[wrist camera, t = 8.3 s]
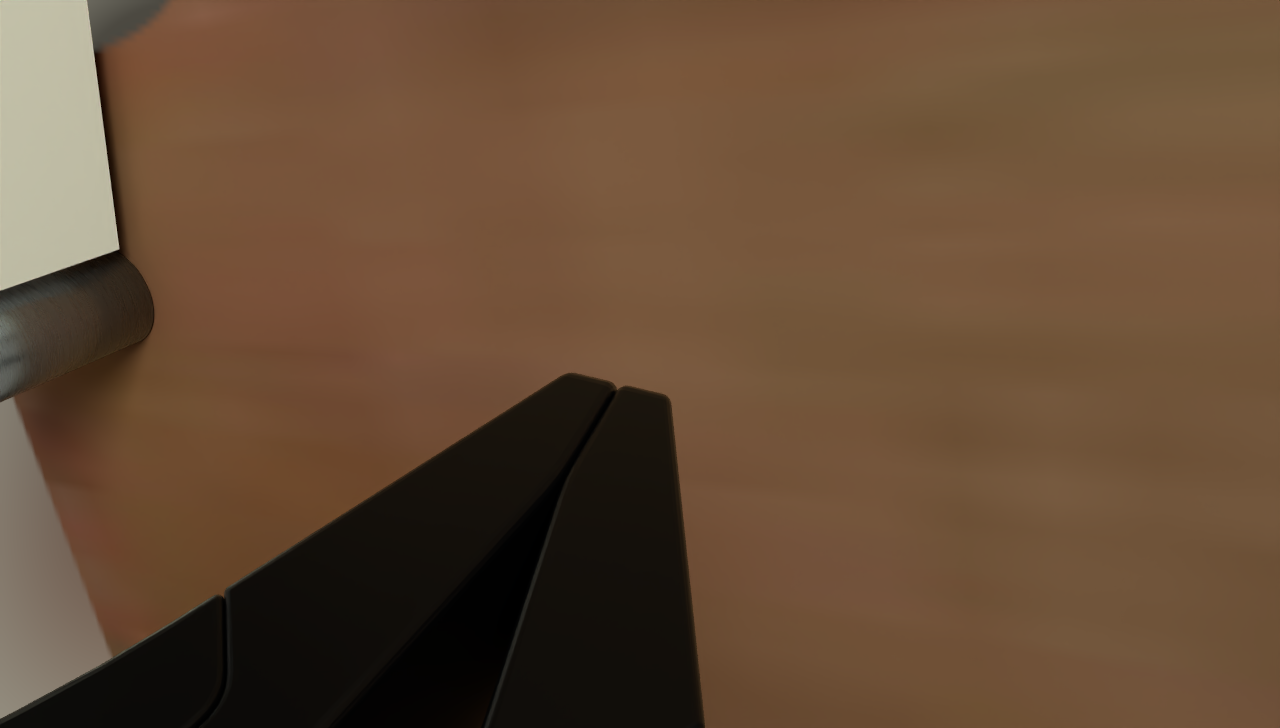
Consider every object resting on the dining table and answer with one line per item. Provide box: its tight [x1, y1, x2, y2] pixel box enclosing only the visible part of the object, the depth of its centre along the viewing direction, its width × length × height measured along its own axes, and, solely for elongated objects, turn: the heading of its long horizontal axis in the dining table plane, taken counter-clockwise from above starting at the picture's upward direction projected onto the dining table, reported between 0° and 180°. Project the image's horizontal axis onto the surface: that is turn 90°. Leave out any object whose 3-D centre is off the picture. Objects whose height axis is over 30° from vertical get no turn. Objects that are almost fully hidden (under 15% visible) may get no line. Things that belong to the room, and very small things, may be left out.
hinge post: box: [0, 251, 154, 402], centre depth 25 cm, size 2×2×6 cm
